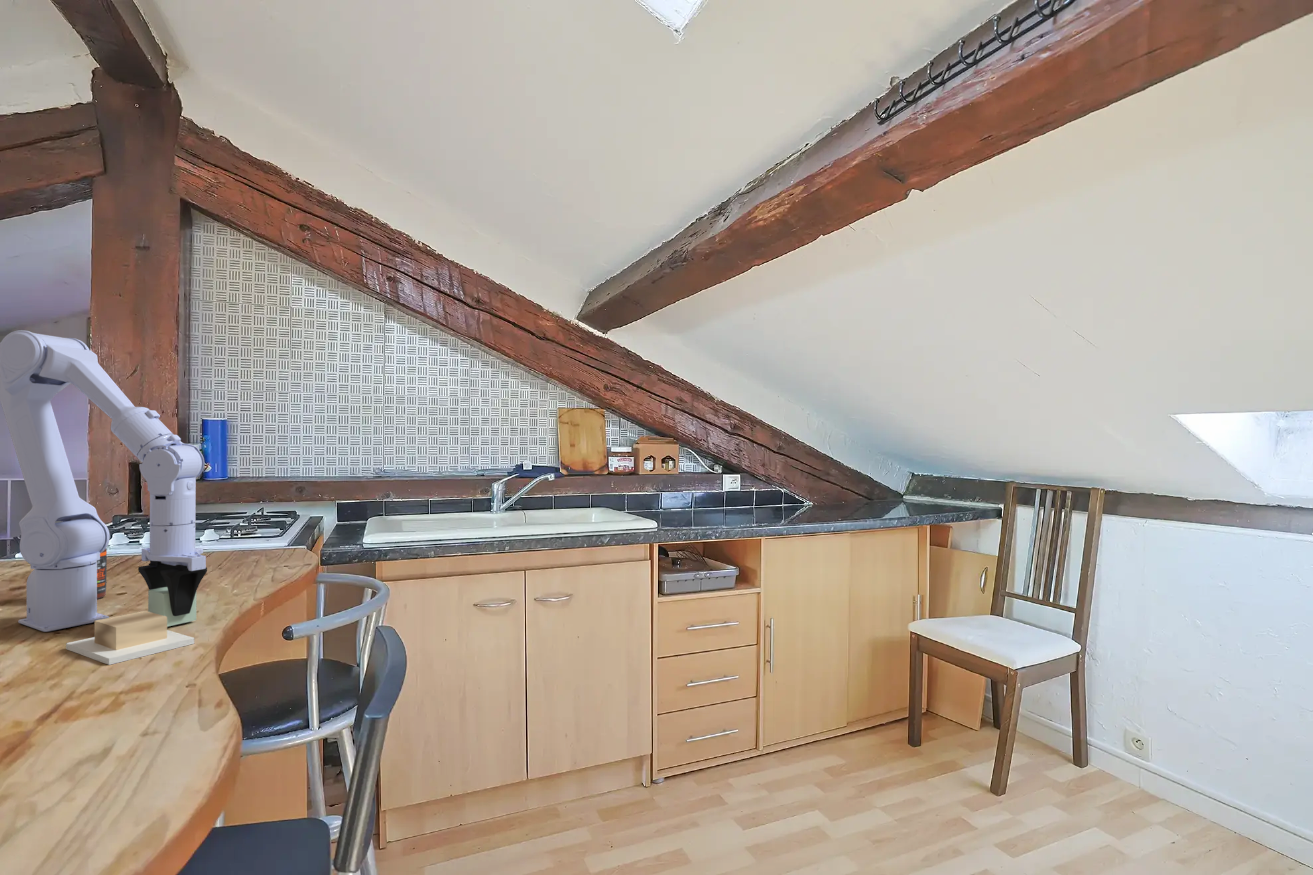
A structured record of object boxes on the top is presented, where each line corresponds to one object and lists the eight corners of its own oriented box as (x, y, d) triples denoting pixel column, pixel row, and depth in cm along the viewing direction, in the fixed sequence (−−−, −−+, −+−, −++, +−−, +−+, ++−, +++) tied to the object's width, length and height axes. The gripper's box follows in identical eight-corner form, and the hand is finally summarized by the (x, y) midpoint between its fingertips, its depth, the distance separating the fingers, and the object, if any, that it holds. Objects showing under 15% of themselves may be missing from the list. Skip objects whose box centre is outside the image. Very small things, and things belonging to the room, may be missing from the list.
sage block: (148, 622, 103) (148, 590, 103) (180, 616, 107) (180, 584, 107) (163, 627, 101) (163, 593, 101) (196, 620, 105) (196, 587, 105)
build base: (66, 649, 92) (66, 621, 92) (150, 630, 101) (150, 604, 101) (109, 665, 86) (109, 635, 86) (194, 643, 95) (194, 616, 95)
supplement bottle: (80, 604, 115) (80, 537, 115) (52, 602, 116) (52, 535, 116) (115, 595, 121) (115, 532, 121) (88, 593, 122) (88, 530, 122)
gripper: (227, 524, 104) (226, 612, 104) (176, 517, 111) (176, 600, 111) (176, 529, 98) (175, 624, 98) (126, 522, 105) (125, 609, 105)
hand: (172, 612), depth 104 cm, fingers closed on sage block, 4 cm apart
